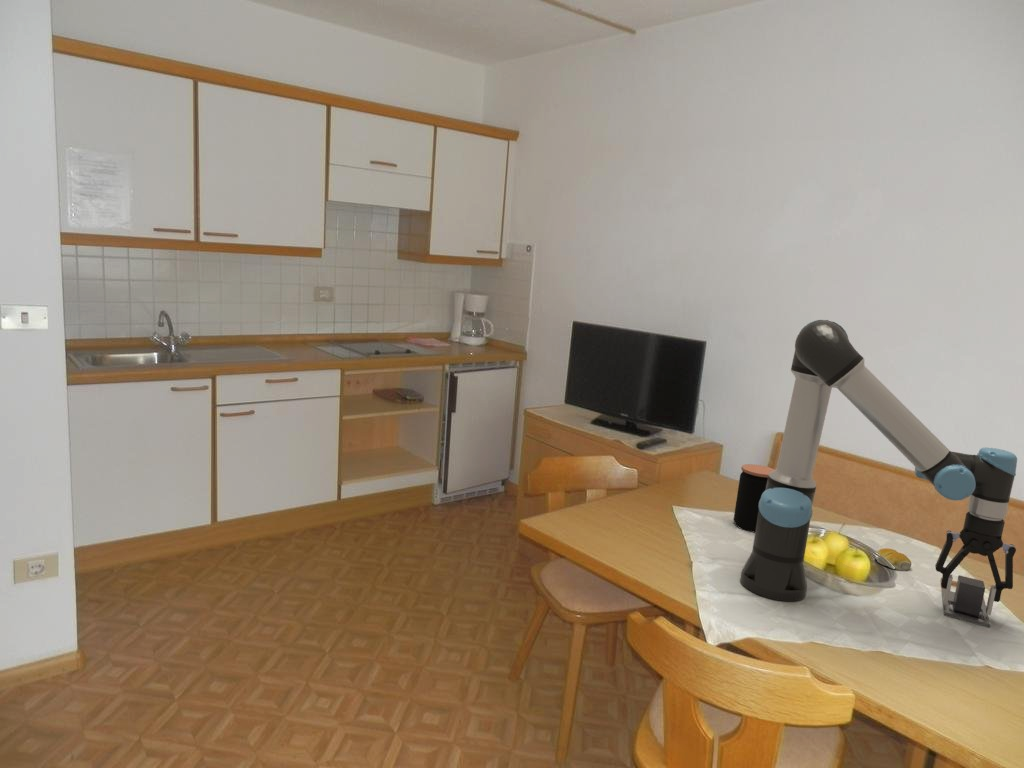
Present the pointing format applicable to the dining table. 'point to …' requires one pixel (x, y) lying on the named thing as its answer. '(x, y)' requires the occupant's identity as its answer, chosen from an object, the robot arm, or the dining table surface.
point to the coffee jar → (750, 495)
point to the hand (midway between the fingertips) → (966, 607)
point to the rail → (948, 613)
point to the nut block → (968, 596)
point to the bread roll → (896, 559)
